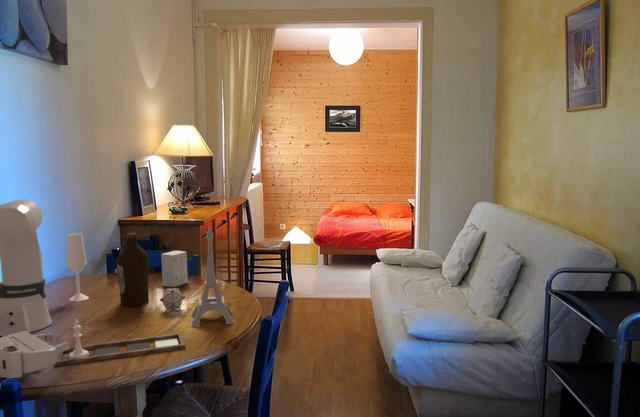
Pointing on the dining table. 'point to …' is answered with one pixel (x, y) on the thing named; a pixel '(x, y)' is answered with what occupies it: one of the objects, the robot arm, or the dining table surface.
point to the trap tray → (122, 354)
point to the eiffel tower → (205, 301)
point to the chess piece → (78, 343)
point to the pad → (166, 342)
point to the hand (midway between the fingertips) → (60, 340)
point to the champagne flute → (76, 261)
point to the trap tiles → (116, 348)
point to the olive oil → (133, 273)
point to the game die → (172, 298)
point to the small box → (174, 268)
